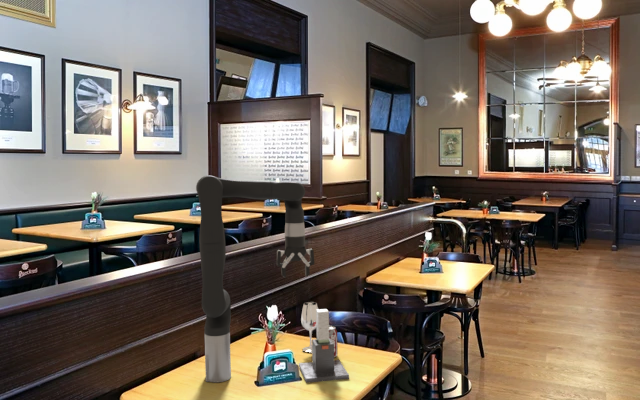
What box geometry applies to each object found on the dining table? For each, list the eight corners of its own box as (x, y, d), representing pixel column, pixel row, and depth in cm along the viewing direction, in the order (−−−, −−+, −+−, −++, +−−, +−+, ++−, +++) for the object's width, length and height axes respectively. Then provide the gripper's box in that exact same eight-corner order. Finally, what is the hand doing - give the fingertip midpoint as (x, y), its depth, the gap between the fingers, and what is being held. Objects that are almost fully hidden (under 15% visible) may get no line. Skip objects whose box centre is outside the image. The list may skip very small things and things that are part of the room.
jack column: (318, 354, 214) (318, 312, 213) (316, 350, 218) (316, 309, 217) (329, 353, 215) (328, 311, 213) (327, 350, 219) (326, 308, 217)
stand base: (306, 382, 207) (305, 350, 206) (299, 367, 223) (298, 336, 222) (349, 378, 211) (348, 346, 210) (339, 363, 226) (338, 333, 225)
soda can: (318, 357, 233) (317, 328, 232) (325, 352, 239) (325, 324, 238) (333, 360, 230) (332, 330, 229) (340, 355, 236) (339, 326, 235)
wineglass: (299, 348, 245) (298, 302, 243) (317, 346, 247) (316, 300, 246) (304, 354, 237) (303, 306, 236) (322, 352, 240) (321, 305, 238)
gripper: (277, 236, 212) (278, 279, 213) (315, 235, 215) (315, 277, 216) (275, 233, 219) (275, 275, 220) (311, 232, 222) (312, 273, 223)
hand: (295, 276), depth 218 cm, fingers open, 8 cm apart
